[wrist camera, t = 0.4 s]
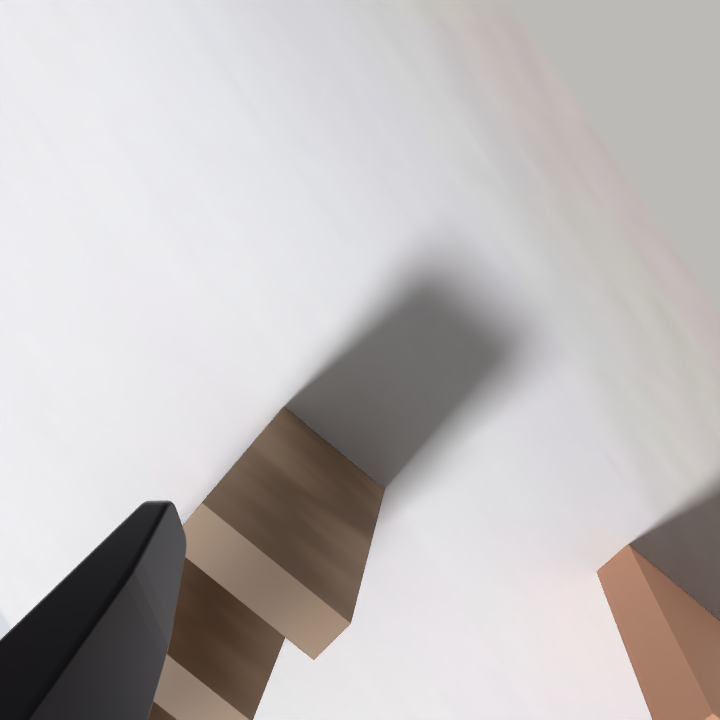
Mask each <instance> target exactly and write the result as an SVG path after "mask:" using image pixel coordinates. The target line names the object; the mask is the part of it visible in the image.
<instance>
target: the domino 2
mask: <svg viewBox="0 0 720 720" xmlns="http://www.w3.org/2000/svg"><path fill="white" fill-rule="evenodd" d="M284 639H285V637H284V636H283V635H282V634H281V633H279V632H278V631H277V630H276V629H275V628H273V627H272V626H271V625H270V624H268V623H267V622H266V621H265V620H263V619H262V618H261V617H260V616H258V615H257V614H256V613H255V612H253V611H252V610H251V609H250V608H248V607H247V606H246V605H245V604H243V603H242V602H241V601H240V600H238V599H237V598H236V597H235V596H233V595H232V594H231V593H230V592H229V591H227V590H226V589H225V588H224V587H222V586H221V585H220V584H219V583H217V582H216V581H215V580H214V579H212V578H211V577H210V576H209V575H207V574H206V573H205V572H204V571H202V570H201V569H200V568H199V567H197V566H196V565H195V564H194V563H192V562H191V561H190V560H189V559H187V558H186V557H185V560H184V565H183V571H182V577H181V582H180V588H179V594H178V599H177V605H176V611H175V616H174V622H173V628H172V633H171V638H170V643H169V648H168V651H167V655H166V659H165V663H164V666H163V670H162V673H161V677H160V680H159V683H158V687H157V690H156V694H155V697H154V702H155V703H157V704H158V705H159V706H160V707H162V708H163V709H164V710H165V711H167V712H168V713H169V714H170V715H172V716H173V717H174V718H176V719H177V720H253V718H254V715H255V713H256V710H257V708H258V705H259V703H260V700H261V698H262V695H263V692H264V690H265V687H266V685H267V682H268V680H269V677H270V675H271V672H272V670H273V667H274V664H275V662H276V659H277V657H278V654H279V652H280V649H281V647H282V644H283V642H284Z"/></svg>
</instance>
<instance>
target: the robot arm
mask: <svg viewBox="0 0 720 720" xmlns="http://www.w3.org/2000/svg"><path fill="white" fill-rule="evenodd" d="M186 545H187V544H186V535H185V532H184V529H183V527H182V524H181V521H180V518H179V516H178V513H177V510H176V507H175V505H174V504H173V503H172V502H171V501H147V502H145V503H143V504H141V505H140V506H139V507H138V508H137V509H136V510H135V511H134V512H133V513H132V514H131V515H130V516H129V517H128V518H127V519H126V520H125V521H124V522H122V523H121V524H120V525H119V526H118V527H117V528H116V529H115V530H114V531H113V532H112V533H111V534H110V535H109V536H108V537H107V538H106V539H105V540H104V541H103V542H102V543H101V544H100V545H99V546H98V547H96V548H95V549H94V550H93V551H92V552H91V553H90V554H89V555H88V556H87V557H86V558H85V559H84V560H83V561H82V562H81V563H80V564H79V565H78V566H77V567H76V568H75V569H74V570H73V571H72V572H71V573H69V574H68V575H67V576H66V577H65V578H64V579H63V580H62V581H61V582H60V583H59V584H58V585H57V586H56V587H55V588H54V589H53V590H52V591H51V592H50V593H49V594H48V595H47V596H46V597H45V598H43V599H42V600H41V601H40V602H39V603H38V604H37V605H36V606H35V607H34V608H33V609H32V610H31V611H30V612H29V613H28V614H27V615H26V616H25V617H24V618H23V619H22V620H21V621H20V622H19V623H17V624H16V625H15V626H14V627H13V628H12V629H11V630H10V631H9V632H8V633H7V634H6V635H5V636H4V637H3V638H2V639H1V640H0V720H148V718H149V714H150V711H151V708H152V704H153V701H154V697H155V694H156V690H157V687H158V683H159V680H160V677H161V673H162V670H163V666H164V663H165V659H166V655H167V651H168V648H169V643H170V638H171V633H172V628H173V622H174V616H175V611H176V605H177V599H178V594H179V588H180V582H181V577H182V571H183V565H184V560H185V554H186Z"/></svg>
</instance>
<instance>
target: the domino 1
mask: <svg viewBox="0 0 720 720" xmlns="http://www.w3.org/2000/svg"><path fill="white" fill-rule="evenodd" d="M384 490H385V489H383V488H382V487H381V486H380V485H379V484H377V483H376V482H375V481H374V480H372V479H371V478H370V477H369V476H368V475H366V474H365V473H364V472H363V471H362V470H360V469H359V468H358V467H357V466H355V465H354V464H353V463H352V462H351V461H349V460H348V459H347V458H346V457H345V456H343V455H342V454H341V453H340V452H338V451H337V450H336V449H335V448H334V447H332V446H331V445H330V444H329V443H328V442H326V441H325V440H324V439H323V438H321V437H320V436H319V435H318V434H317V433H315V432H314V431H313V430H312V429H311V428H309V427H308V426H307V425H306V424H305V423H303V422H302V421H301V420H300V419H298V418H297V417H296V416H295V415H294V414H292V413H291V412H290V411H289V410H288V409H286V408H285V407H283V408H282V409H281V410H280V411H279V413H278V414H277V415H276V416H275V417H274V418H273V420H272V421H271V422H270V423H269V424H268V426H267V427H266V428H265V429H264V430H263V431H262V433H261V434H260V435H259V436H258V437H257V438H256V440H255V441H254V442H253V443H252V444H251V446H250V447H249V448H248V449H247V450H246V451H245V453H244V454H243V455H242V456H241V457H240V458H239V460H238V461H237V462H236V463H235V464H234V466H233V467H232V468H231V469H230V470H229V471H228V473H227V474H226V475H225V476H224V477H223V478H222V480H221V481H220V482H219V483H218V484H217V486H216V487H215V488H214V489H213V490H212V491H211V493H210V494H209V495H208V496H207V497H206V498H205V500H204V501H203V502H202V503H201V504H200V506H199V507H198V508H197V509H196V510H195V512H194V513H193V514H192V515H191V516H190V518H189V519H188V520H187V521H186V522H185V524H184V525H183V526H182V527H183V529H184V532H185V535H186V544H187V545H186V554H185V557H186V558H187V559H189V560H190V561H191V562H192V563H194V564H195V565H196V566H197V567H199V568H200V569H201V570H202V571H204V572H205V573H206V574H207V575H209V576H210V577H211V578H212V579H214V580H215V581H216V582H217V583H219V584H220V585H221V586H222V587H224V588H225V589H226V590H227V591H229V592H230V593H231V594H232V595H233V596H235V597H236V598H237V599H238V600H240V601H241V602H242V603H243V604H245V605H246V606H247V607H248V608H250V609H251V610H252V611H253V612H255V613H256V614H257V615H258V616H260V617H261V618H262V619H263V620H265V621H266V622H267V623H268V624H270V625H271V626H272V627H273V628H275V629H276V630H277V631H278V632H279V633H281V634H282V635H283V636H284V637H286V638H287V639H288V640H289V641H291V642H292V643H293V644H294V645H296V646H297V647H298V648H299V649H301V650H302V651H303V652H304V653H306V654H307V655H308V656H309V657H311V658H312V659H313V660H314V659H315V658H316V657H317V656H318V655H319V654H320V653H321V652H322V651H324V650H325V649H326V648H327V647H328V646H329V645H330V644H331V643H332V642H333V641H334V640H335V639H336V638H337V637H338V636H339V635H340V634H341V633H342V632H343V631H344V630H345V629H346V628H347V627H348V626H349V625H350V624H351V621H352V617H353V613H354V609H355V605H356V601H357V597H358V593H359V589H360V585H361V581H362V577H363V573H364V569H365V565H366V561H367V557H368V553H369V549H370V545H371V541H372V537H373V533H374V529H375V525H376V521H377V517H378V513H379V510H380V506H381V502H382V498H383V494H384Z"/></svg>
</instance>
